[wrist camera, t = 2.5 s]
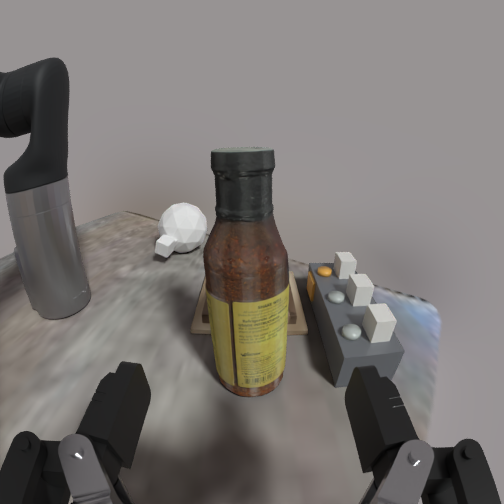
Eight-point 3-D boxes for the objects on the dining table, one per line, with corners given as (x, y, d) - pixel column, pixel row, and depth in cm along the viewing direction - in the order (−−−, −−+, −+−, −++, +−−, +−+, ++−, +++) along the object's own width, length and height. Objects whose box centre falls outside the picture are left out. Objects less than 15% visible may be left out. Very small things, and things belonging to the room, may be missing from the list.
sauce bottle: (291, 363, 27) (312, 148, 19) (268, 409, 21) (285, 153, 13) (232, 345, 29) (227, 144, 21) (201, 385, 24) (178, 150, 16)
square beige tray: (191, 333, 31) (189, 320, 30) (207, 274, 44) (206, 263, 43) (307, 334, 31) (309, 322, 30) (292, 275, 44) (293, 264, 43)
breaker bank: (332, 387, 23) (347, 337, 21) (304, 288, 40) (308, 246, 37) (391, 380, 24) (413, 330, 21) (346, 287, 40) (353, 247, 37)
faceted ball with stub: (171, 228, 57) (138, 259, 47) (177, 188, 52) (141, 214, 42) (209, 244, 56) (181, 279, 46) (219, 204, 51) (189, 234, 41)
